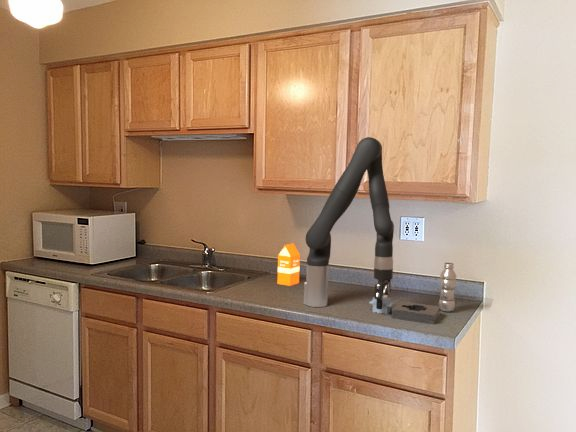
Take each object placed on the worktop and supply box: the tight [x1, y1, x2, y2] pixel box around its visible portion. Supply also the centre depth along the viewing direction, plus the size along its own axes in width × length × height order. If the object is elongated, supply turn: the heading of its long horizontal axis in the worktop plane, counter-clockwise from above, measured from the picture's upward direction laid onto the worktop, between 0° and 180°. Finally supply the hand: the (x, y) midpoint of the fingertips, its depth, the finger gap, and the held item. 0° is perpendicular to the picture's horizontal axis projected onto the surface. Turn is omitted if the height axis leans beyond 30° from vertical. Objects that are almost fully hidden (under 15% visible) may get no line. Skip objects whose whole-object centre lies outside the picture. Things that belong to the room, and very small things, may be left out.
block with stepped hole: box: [391, 301, 442, 325], centre depth 194 cm, size 16×14×4 cm
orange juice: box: [276, 242, 301, 287], centre depth 247 cm, size 8×9×20 cm
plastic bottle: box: [438, 262, 457, 312], centre depth 202 cm, size 6×7×20 cm
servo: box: [368, 295, 395, 315], centre depth 199 cm, size 9×4×7 cm, turn 63°
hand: (382, 306), depth 199 cm, fingers open, 8 cm apart
